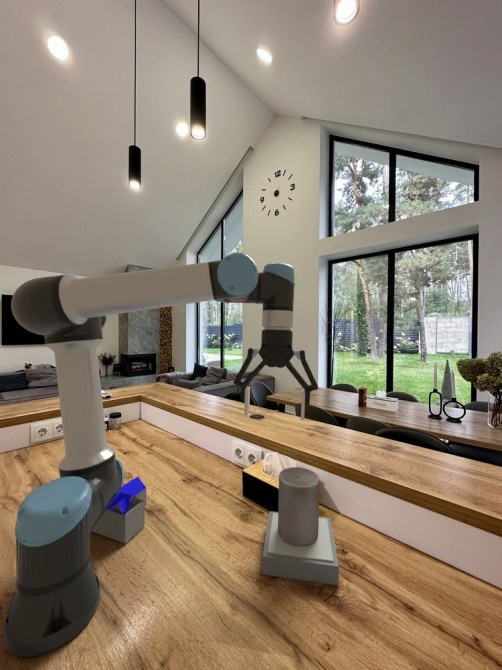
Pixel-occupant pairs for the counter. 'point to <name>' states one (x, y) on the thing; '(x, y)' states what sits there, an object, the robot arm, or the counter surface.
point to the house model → (124, 513)
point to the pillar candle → (298, 506)
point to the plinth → (301, 555)
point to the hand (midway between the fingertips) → (274, 416)
